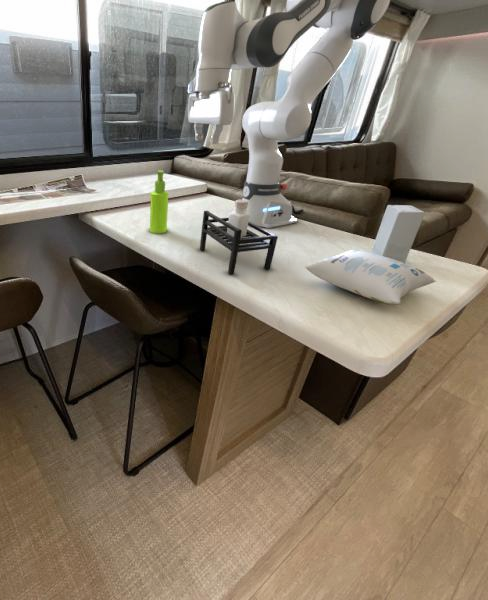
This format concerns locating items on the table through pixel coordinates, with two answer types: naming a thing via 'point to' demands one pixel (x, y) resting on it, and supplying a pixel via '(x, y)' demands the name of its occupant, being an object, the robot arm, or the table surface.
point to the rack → (237, 239)
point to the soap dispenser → (159, 206)
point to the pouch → (371, 275)
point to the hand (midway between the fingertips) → (206, 142)
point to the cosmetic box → (397, 232)
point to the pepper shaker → (239, 217)
